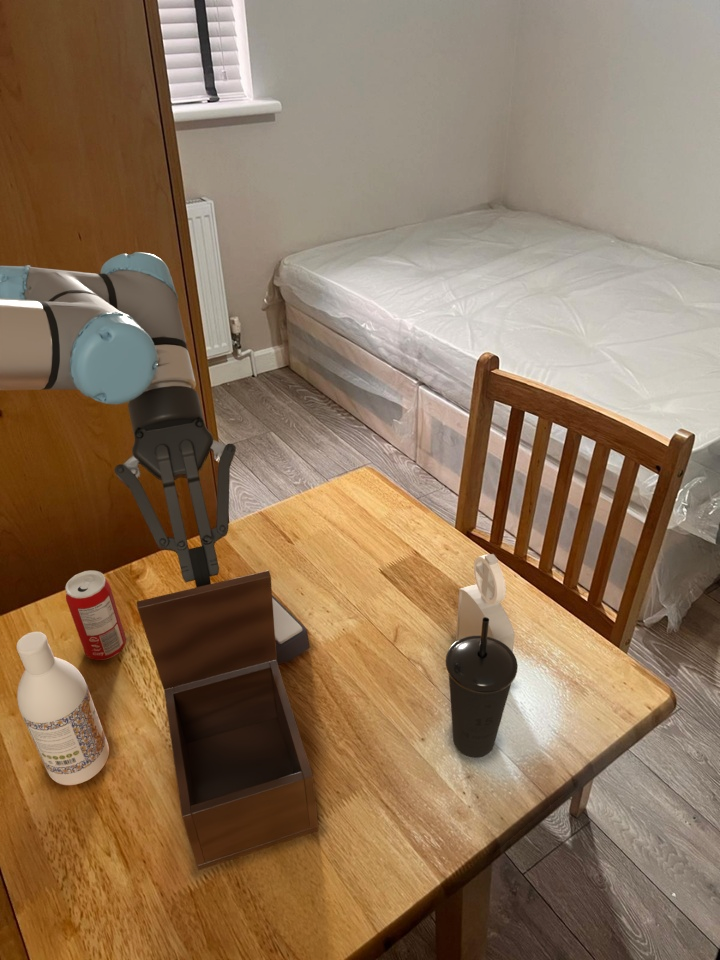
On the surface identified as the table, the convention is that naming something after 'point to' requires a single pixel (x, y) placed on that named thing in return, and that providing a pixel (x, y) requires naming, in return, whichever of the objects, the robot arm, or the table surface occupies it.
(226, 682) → the chest
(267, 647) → the chest lid
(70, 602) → the soda can
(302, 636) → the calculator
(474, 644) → the drinking cup
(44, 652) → the bath foam
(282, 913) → the table surface
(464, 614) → the gravestone
